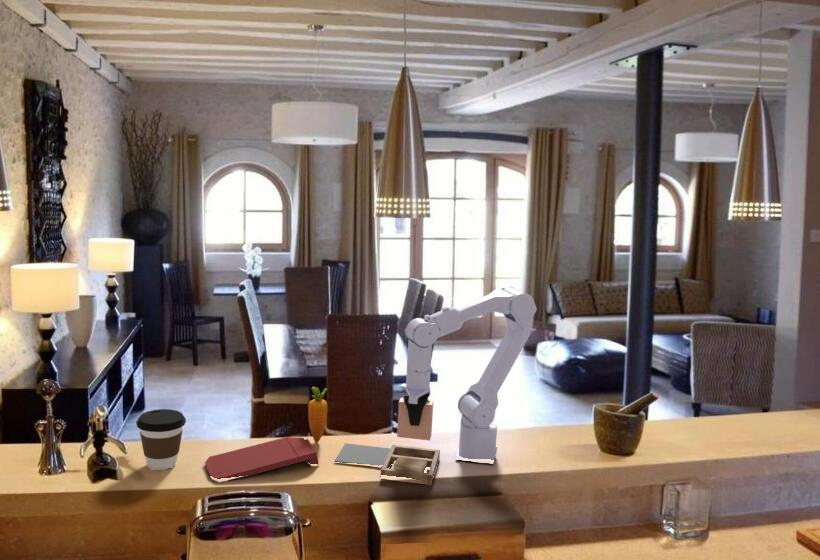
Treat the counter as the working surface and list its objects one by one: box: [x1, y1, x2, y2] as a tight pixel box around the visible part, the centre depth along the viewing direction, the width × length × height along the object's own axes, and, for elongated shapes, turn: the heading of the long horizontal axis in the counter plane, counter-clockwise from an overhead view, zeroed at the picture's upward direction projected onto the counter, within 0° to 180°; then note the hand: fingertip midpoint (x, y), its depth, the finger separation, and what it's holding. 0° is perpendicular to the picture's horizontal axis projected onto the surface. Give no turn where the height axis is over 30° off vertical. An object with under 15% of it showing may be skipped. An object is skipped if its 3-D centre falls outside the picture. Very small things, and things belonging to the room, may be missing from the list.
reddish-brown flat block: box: [204, 436, 319, 479], centre depth 185 cm, size 12×5×25 cm
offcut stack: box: [390, 457, 427, 473], centre depth 184 cm, size 8×5×4 cm, turn 77°
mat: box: [334, 442, 391, 466], centre depth 193 cm, size 12×11×1 cm
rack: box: [380, 444, 441, 487], centre depth 188 cm, size 12×15×2 cm
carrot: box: [307, 386, 328, 443], centre depth 199 cm, size 5×5×15 cm
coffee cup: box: [135, 408, 187, 471], centre depth 182 cm, size 11×11×12 cm
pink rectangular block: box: [396, 397, 434, 441], centre depth 190 cm, size 8×3×9 cm, turn 81°
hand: (415, 422), depth 190 cm, fingers closed on pink rectangular block, 3 cm apart
